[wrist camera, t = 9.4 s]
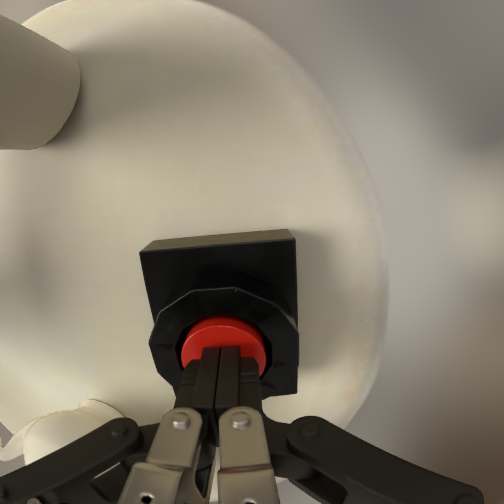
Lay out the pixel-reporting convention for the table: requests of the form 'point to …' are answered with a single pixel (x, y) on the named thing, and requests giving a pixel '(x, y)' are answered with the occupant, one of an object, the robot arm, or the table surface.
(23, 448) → the teapot
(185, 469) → the robot arm
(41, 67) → the beverage can
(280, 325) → the control block
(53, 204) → the table surface
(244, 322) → the button
